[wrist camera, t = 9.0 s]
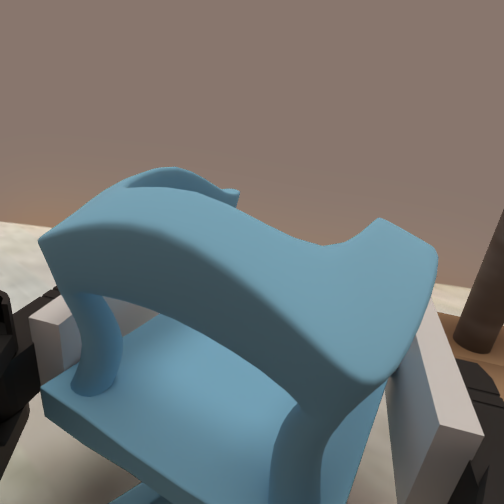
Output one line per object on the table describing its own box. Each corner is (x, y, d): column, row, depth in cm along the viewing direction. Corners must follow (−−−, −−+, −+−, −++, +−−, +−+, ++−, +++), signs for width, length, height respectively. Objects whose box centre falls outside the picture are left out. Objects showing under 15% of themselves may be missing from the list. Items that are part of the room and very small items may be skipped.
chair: (370, 493, 14) (485, 178, 9) (271, 847, 7) (502, 374, 2) (203, 401, 17) (222, 129, 12) (26, 589, 11) (-87, 156, 6)
